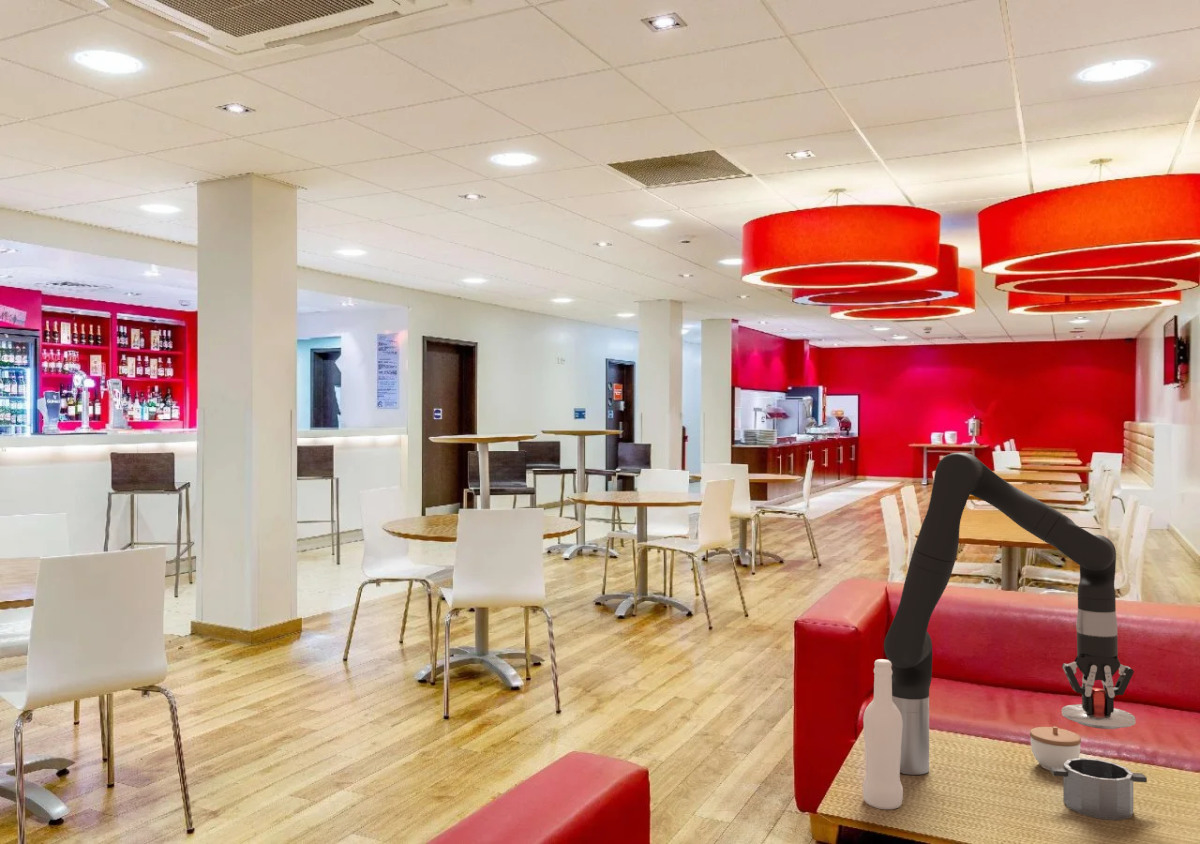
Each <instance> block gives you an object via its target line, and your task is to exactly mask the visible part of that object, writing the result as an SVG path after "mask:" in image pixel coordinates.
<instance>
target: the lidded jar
mask: <svg viewBox="0 0 1200 844" xmlns="http://www.w3.org/2000/svg"><path fill="white" fill-rule="evenodd" d="M1029 737H1030V746H1031V752H1032V756H1033V757H1034V759H1035V760H1036V762H1038V763H1039V764H1040V767H1041V768H1043V769H1045V770H1047V771H1050V767H1059V768H1063V764H1064V763H1065V762H1066V761H1067V760H1069V759H1076V758H1080V754H1081V743H1082V737H1081V736H1080V734H1078V733H1077V732H1073V731H1071V730H1069V729H1064V728H1059V727H1058V726H1052V727H1051V726H1039V727H1034V728H1032V729H1030V731H1029Z"/></svg>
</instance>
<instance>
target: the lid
mask: <svg viewBox="0 0 1200 844" xmlns="http://www.w3.org/2000/svg"><path fill="white" fill-rule="evenodd" d="M1091 697H1092V715H1091V714H1087V713H1086V712H1085V711H1084V710H1083V708H1082V703H1079V704H1068V705H1065V706H1063V707H1061V715H1062V717H1063V718H1066V719H1067V720H1070V721H1072V722H1075V723H1077V724H1079V725H1082V726H1084V727H1090V728H1095V729H1102V730H1115V729H1122V728H1128V727H1129V728H1130V727H1132V726H1135V725H1136V724H1137V723H1136V717H1135V715H1134V714H1132V713H1131V712H1128V711H1125V710H1123V709H1120V708H1115V707H1114V711H1113V713H1111V715H1106V690H1104V688H1100V687H1092V692H1091Z"/></svg>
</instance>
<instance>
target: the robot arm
mask: <svg viewBox="0 0 1200 844" xmlns="http://www.w3.org/2000/svg"><path fill="white" fill-rule="evenodd" d="M935 468H936V469H935V472H934V478H933V483H932V487H931V488H932V489H931V495H930V499H929V505H928V508H927V512H926V513H925V517H924V519H923V521H922V524H921V527H920V530H919V533H918V536H917V537H916V540H915V544H914V548H913V551H912V553H911V557H910V561H909V563H908V564H909V565H908V568H907V573H906V577H905V580H904V584H903V588H902V591H901V592H902V593H901V597H900V601H899V604H898V607H897V610H896V613H895V615H894V617H893V620H892V621H891V622H892V623H891V624H890V626H889V629H888V630H887V631H888V632H887V634H886V636H885V637H884V643H883V649H884V653H885V656H886V658H887V660H889V661H890V662H891V664H892V666H891V669H892V701H893V702H894V704H895V705H896V706H897V708H898V709H899V711H900V713H901V716H902V721H903V727H902V742H901V758H900V774H904V775H912V776H913V775H915V776H918V775H919V776H920V775H924V774H927V773H929V772H930V689H931V688H930V687H931V683H932V675H933V642H932V641H933V640H932V637H931V635H930V633H929V632H928V627H929V623H930V620H931V617H932V614H933V612H934V610H935V608H936V606H937V604H938V603H939V601H940V599H941V597H942V595H943V594H944V592H945V590H946V588H947V586H948V584H949V582H950V579H951V576H952V572H953V570H954V566H955V563H956V560H957V555H958V551H959V545H960V544H959V541H960V528H961V521H962V516H963V512H964V510H965V507H966V505H967V502H968V500H969V497H970V496H972V497H975V498H978V499H979V500H981V501H983V502H985V503H987V504H989V505H991V506H993V508H996V509H997V510H999V512H1001V513H1002V514H1003V515H1005V516H1006V517H1008V518H1009V519H1010V521H1013V522H1014V523H1016V524H1017V526H1019V527H1021V529H1023V530H1025V531H1027V532H1028V533H1030V534H1031V535H1033V536H1034V537H1036V538H1038V539H1040V540H1041V541H1043V542H1044V543H1046V544H1048V545H1051V546H1052V547H1054V548H1056V549H1057V550H1058V551H1059V552H1060V553H1062V554H1063V555H1065V556H1066V557H1067V558H1069V559H1070V560H1072V561H1073V563H1076V564H1077V565H1079V582H1078V586H1077V612H1076V613H1077V615H1076V624H1075V629H1076V657H1075V658H1074V661H1072V662H1069V663H1062V665H1061V668H1062V669H1063V672H1064V674H1065V676H1066V678H1067V680H1068V682H1069V684H1070V687H1071V688H1072V690H1073V691H1074V692H1076V693H1077V694H1080V695H1081V704H1082V708H1083V710H1084V711H1085V712H1086V713H1087V714H1091V715H1092V697H1091V692H1092V688H1094V685H1095V681H1101V683H1102V686H1103V687H1102V688H1103V689H1104V690H1106V715H1111V713H1113V711H1114V708H1115V707H1114V706H1115V703H1114V702H1115V701H1114V699H1115V697H1117V696H1123V695H1124V694H1125V692H1126V690H1127V688H1128V686H1129V683H1130V681H1131V679H1132V677H1133V675H1134V673H1135V671H1134V669H1133V668H1131V667H1129V666H1128V665H1123V664H1121V661H1120V660H1119V656H1118V654H1119V650H1118V646H1119V645H1118V643H1119V642H1118V618H1117V613H1116V611H1117V610H1116V609H1117V608H1116V606H1117V605H1116V603H1117V602H1116V590H1115V588H1116V587H1115V578H1116V567H1117V566H1116V563H1117V551H1116V548H1115V545H1114V543H1113V542H1112V541H1111V539H1109V538H1108V537H1106V536H1104V535H1101V534H1093V533H1091V532H1089V531H1087V530H1086V529H1084V528H1083V527H1081V526H1079V525H1077V524H1076V523H1075V522H1074V521H1073V520H1072V519H1071V518H1070V517H1068V516H1067V515H1065V514H1063V513H1061V512H1060V511H1059V510H1057V509H1055V508H1053V507H1051V506H1050V505H1048V504H1046V503H1045V502H1043V501H1040V500H1039V499H1037V498H1035V497H1033V496H1031V495H1029V494H1028V493H1026V492H1024V491H1023V490H1021V489H1019V488H1017V487H1015V486H1014V485H1012V484H1011V483H1009V481H1006V480H1005V479H1003V478H1002V477H1001V476H999V475H998V474H997V473H995V471H993V470H991V469H990V468H989V467H988V466H987V465H985V464H984V463H983V462H982V461H981V460H980V459H978V457H976V455H973V454H971V453H969V452H961V451H960V452H952V453H950V454H949V453H948V454H946V455H945V456H943V457H942V458H941V459H940V460H939V462H938V463H937V466H936V467H935ZM1077 668H1078V670H1080V672H1081V674H1082V680H1081V681H1082V684H1081V685H1080V683H1079V682H1078V679H1077V677H1076V675H1075V674H1077ZM1117 672H1118V674H1119V675H1118V679H1117V680H1116V682H1115V684H1114V681H1113V676H1114V675H1115V674H1116V673H1117Z"/></svg>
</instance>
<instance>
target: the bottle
mask: <svg viewBox="0 0 1200 844" xmlns="http://www.w3.org/2000/svg"><path fill="white" fill-rule="evenodd" d="M873 664H874V665H873V666H874V668H873V673H874V675H873V677H874V679H873V680H874V681H873V698H872V700H871V702H870V703H869V704H868V705H867V706H866V708H865V710H864V713H863V717H862V719H863V722H862V723H863V734H864V735H863V736H864V737H863V739H864V752H865V753H864V756H865V777H864V780H863V783H862V797H863V800H864V802H865V803H866V804H867V805H869V806H870V807H872V808H875V809H879V810H895V809H897V808H900V807H901V805H902V803H903V799H904V788H903V785H902V783H901V779H900V778H901V776H900V774H901V773H900V758H901V742H902V727H903V721H902V716H901V713H900V711H899V709H898V708H897V706H896V705H895V704H894V702H893V701H892V663H891V662H890V661H889V660H888V659H883V658H879V659H876V660H875V661H874V663H873Z"/></svg>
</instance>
